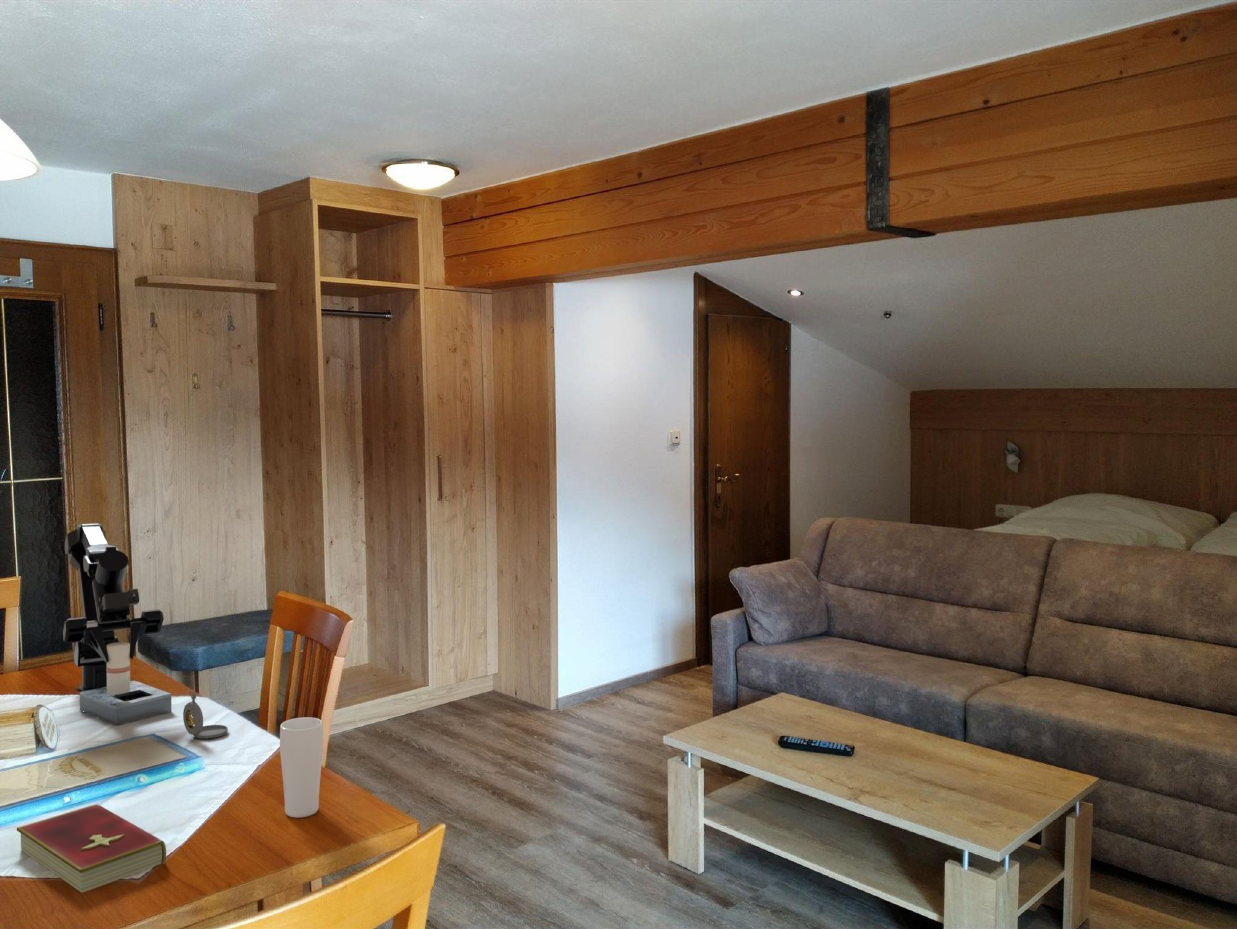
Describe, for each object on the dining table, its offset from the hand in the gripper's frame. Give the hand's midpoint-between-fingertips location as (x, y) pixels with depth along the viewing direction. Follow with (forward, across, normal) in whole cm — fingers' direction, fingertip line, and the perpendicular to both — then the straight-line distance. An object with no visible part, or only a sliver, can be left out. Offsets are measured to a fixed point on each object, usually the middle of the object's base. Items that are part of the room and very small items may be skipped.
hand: (119, 659), depth 203 cm
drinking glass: (+56, +16, -39) cm, 70 cm away
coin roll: (+4, 0, +6) cm, 7 cm away
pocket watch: (+23, +12, -4) cm, 26 cm away
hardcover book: (+55, -15, -37) cm, 68 cm away
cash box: (+4, +2, +14) cm, 15 cm away
